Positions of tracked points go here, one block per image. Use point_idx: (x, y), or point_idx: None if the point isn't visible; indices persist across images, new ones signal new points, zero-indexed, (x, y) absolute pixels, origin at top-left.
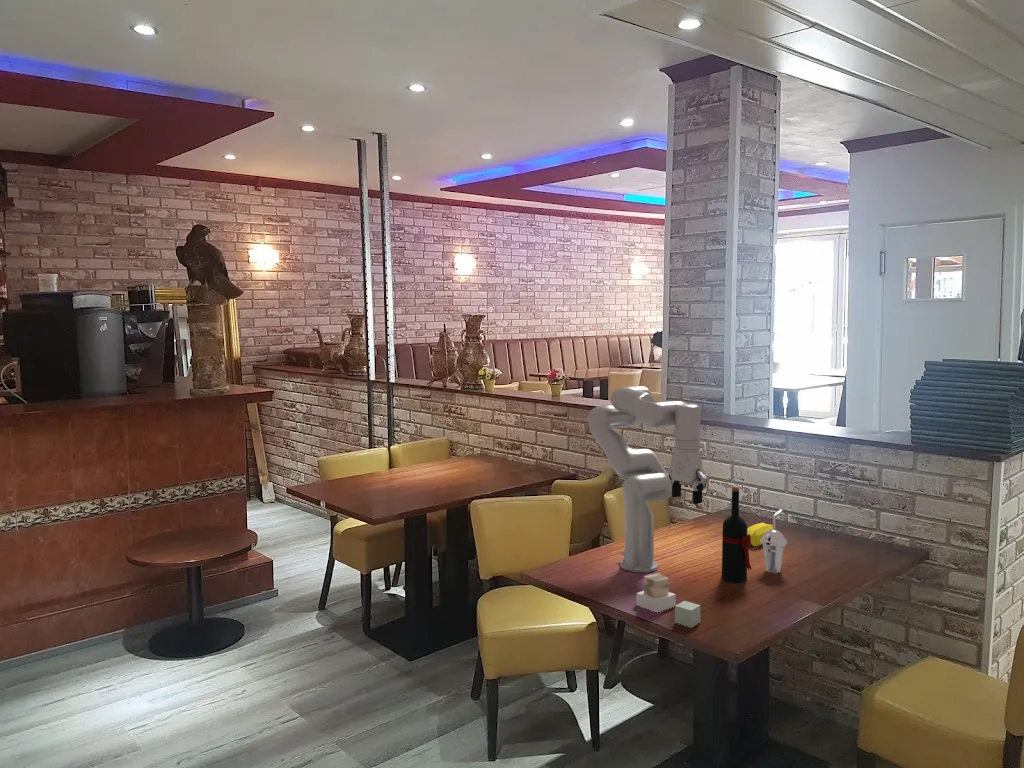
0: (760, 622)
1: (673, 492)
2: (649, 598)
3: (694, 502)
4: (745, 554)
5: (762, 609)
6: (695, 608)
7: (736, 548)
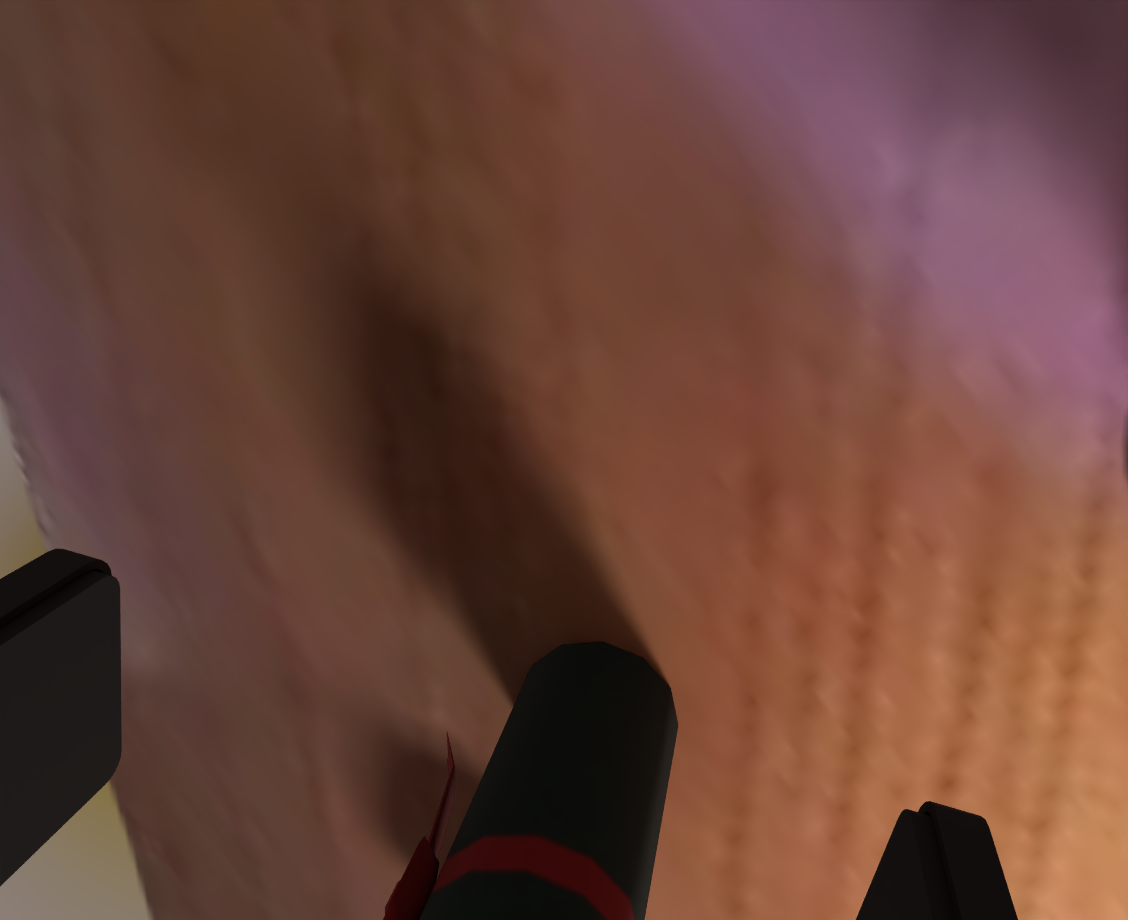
0: (55, 213)
1: (935, 913)
2: None
3: (41, 577)
4: (436, 816)
5: (181, 396)
6: None
7: (474, 822)
